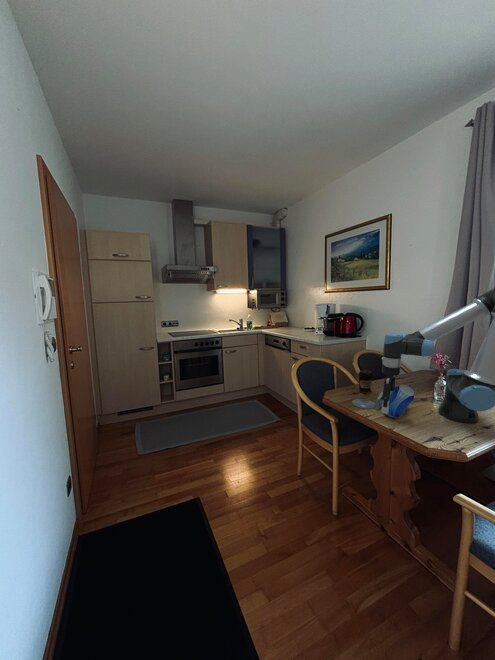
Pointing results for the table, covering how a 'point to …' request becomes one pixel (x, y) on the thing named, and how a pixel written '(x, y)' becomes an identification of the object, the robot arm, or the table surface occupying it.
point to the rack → (379, 403)
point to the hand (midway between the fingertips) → (387, 407)
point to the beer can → (400, 400)
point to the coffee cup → (365, 381)
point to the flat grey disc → (364, 404)
